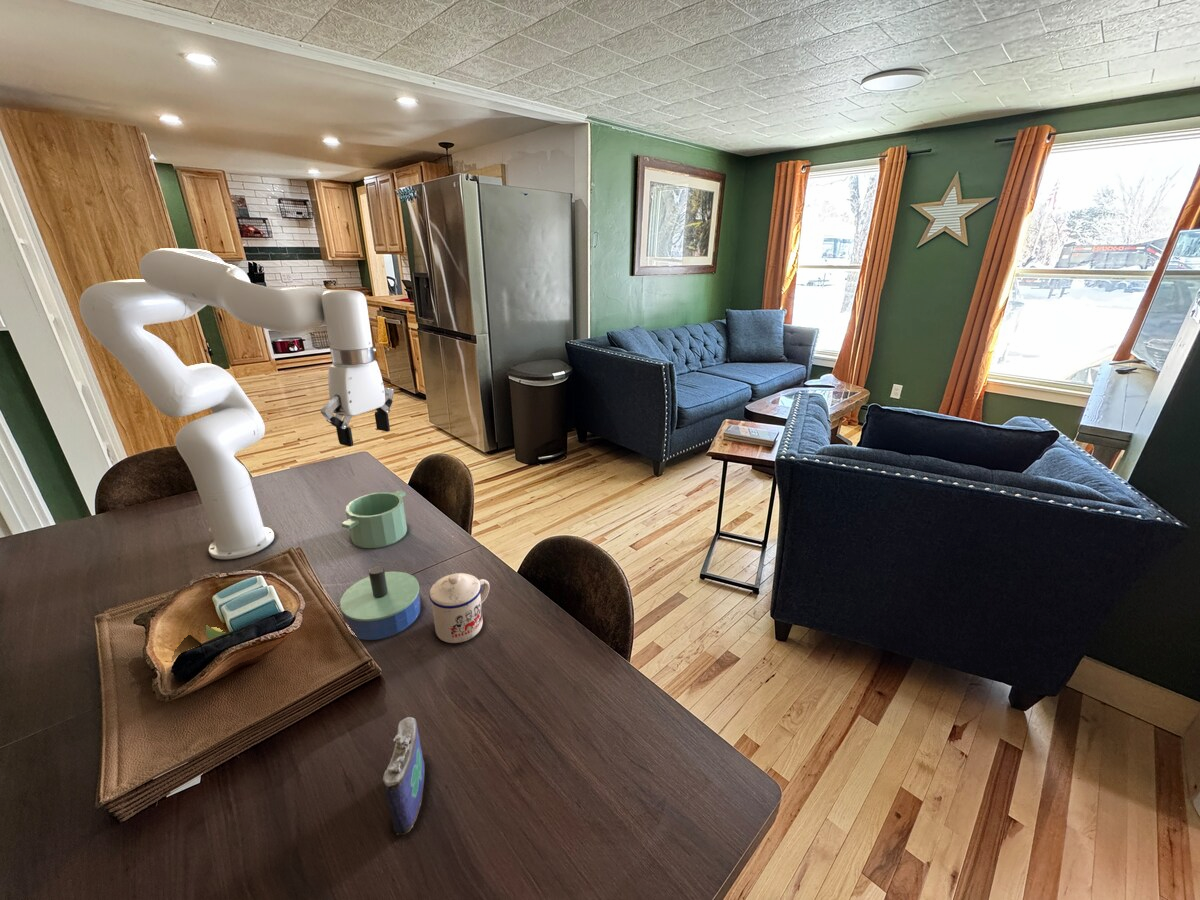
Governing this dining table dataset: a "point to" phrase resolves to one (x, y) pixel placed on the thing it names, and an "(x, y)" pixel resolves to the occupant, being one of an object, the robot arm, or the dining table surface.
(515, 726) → the dining table surface
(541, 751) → the dining table surface
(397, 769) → the flask
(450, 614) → the teacup with lid
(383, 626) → the bowl
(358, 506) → the pot
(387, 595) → the lid
